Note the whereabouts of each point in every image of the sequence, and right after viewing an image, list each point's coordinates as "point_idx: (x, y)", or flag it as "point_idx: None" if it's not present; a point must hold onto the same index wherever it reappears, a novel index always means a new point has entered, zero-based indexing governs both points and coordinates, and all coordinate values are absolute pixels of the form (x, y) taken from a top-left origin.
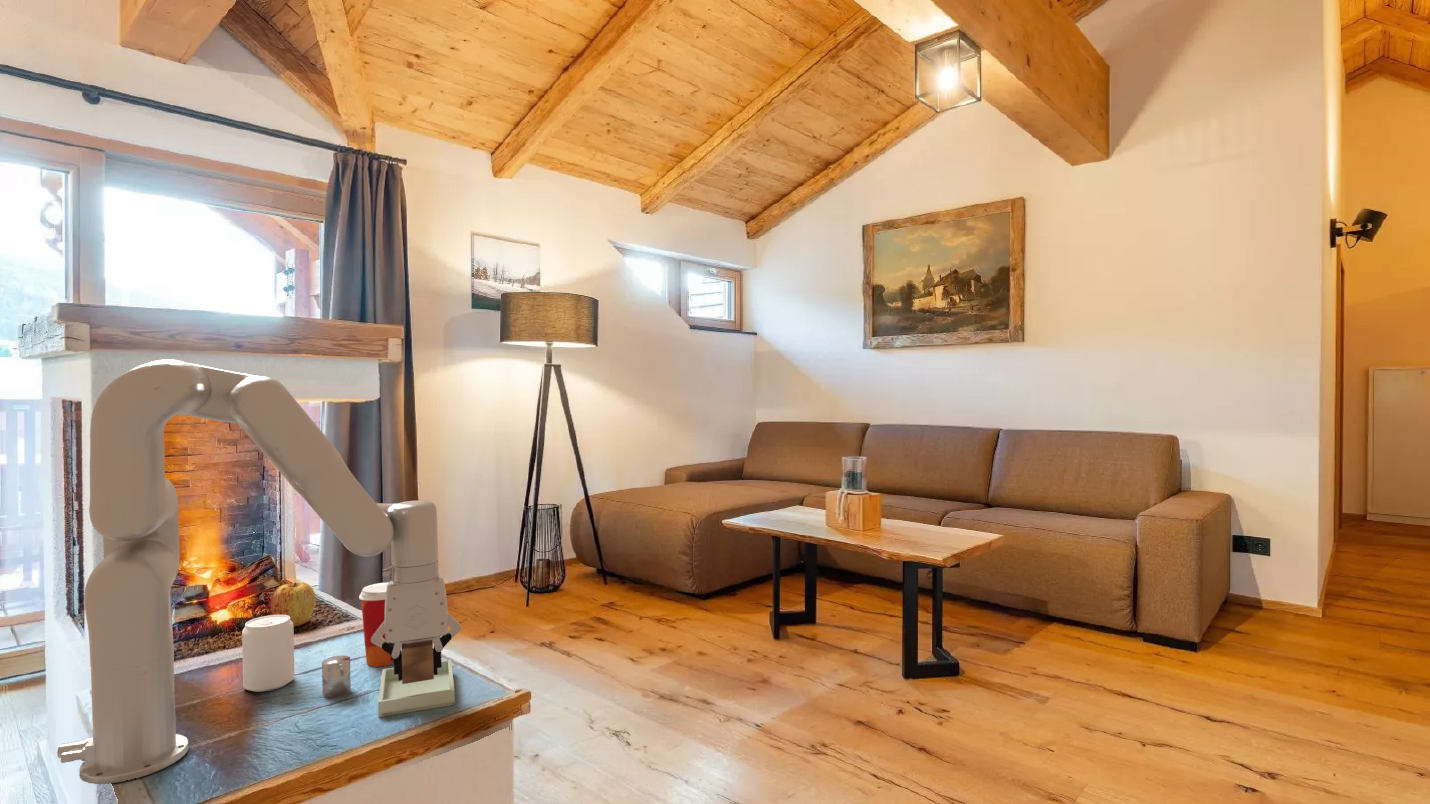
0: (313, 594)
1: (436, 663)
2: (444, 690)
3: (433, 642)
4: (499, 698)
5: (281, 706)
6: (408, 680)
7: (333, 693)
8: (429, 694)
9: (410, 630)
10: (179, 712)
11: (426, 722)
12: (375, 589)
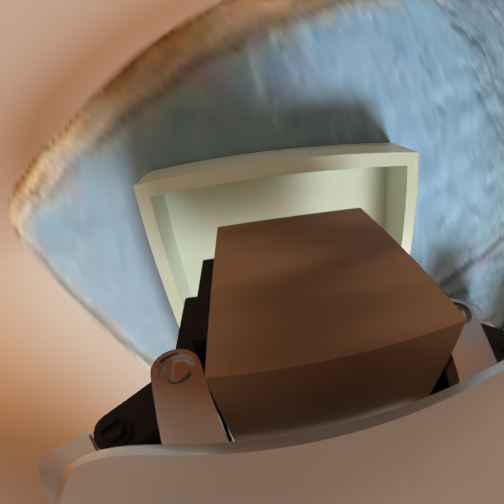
0: None
1: (202, 292)
2: (173, 190)
3: (213, 412)
4: (37, 197)
5: None
6: (339, 214)
7: (465, 298)
8: (232, 166)
9: (496, 486)
10: None
11: (230, 51)
12: None
